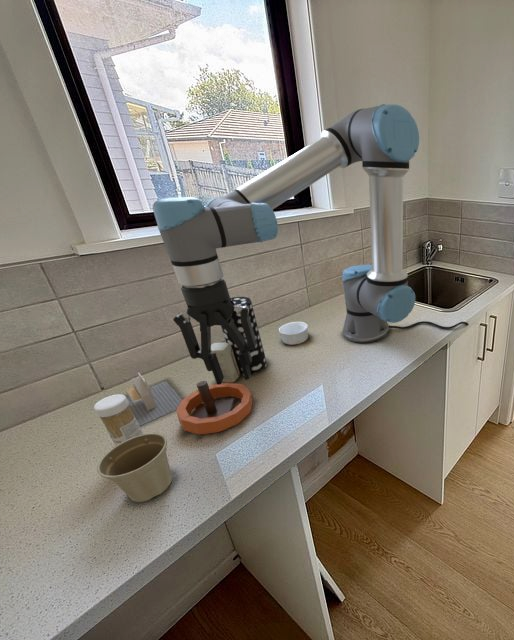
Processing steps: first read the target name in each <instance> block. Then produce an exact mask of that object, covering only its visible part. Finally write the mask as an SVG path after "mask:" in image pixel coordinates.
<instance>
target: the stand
mask: <svg viewBox="0 0 514 640" xmlns="http://www.w3.org/2000/svg"><path fill="white" fill-rule="evenodd" d="M209 386H210V385H209V384H208V381H207V380H202V381H199V382H197V383H196V388H197V390H198V391H199V393H200V396H201V399H202V401H203V403H201V404H200V405H199V406H197V407H196V408H195V409H194V411H193V412H192V415H191V416H193V417H197V418H209V417H217V416H220V415H222V414H224V413H227V412H229V411H232V410H233V409H234V408H235V402H236V397H230V398H224V399H217V400H214V399H213V397H212V395H211V392H210V389H209Z"/></svg>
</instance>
